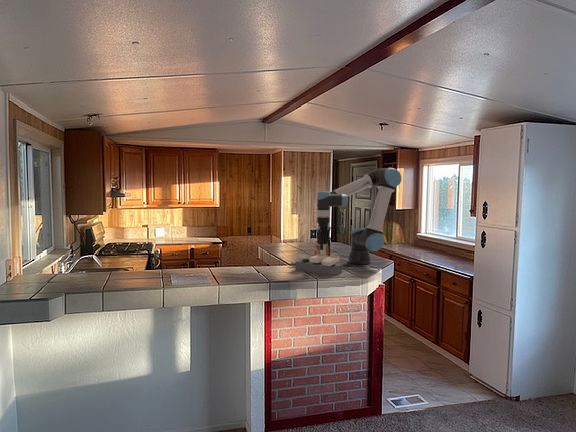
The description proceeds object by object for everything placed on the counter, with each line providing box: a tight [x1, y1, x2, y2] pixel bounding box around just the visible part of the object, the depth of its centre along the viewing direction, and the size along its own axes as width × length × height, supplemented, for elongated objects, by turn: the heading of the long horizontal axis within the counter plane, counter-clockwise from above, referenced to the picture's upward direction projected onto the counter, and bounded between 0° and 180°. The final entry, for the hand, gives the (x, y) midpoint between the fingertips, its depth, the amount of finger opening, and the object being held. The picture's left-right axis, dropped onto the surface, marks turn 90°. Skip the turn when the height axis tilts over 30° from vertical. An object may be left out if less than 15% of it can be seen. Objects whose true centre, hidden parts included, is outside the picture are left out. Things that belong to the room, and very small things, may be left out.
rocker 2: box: [309, 254, 327, 263], centre depth 270 cm, size 10×6×3 cm, turn 139°
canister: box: [314, 235, 332, 257], centre depth 288 cm, size 9×11×20 cm
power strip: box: [290, 258, 343, 277], centre depth 273 cm, size 11×35×6 cm, turn 49°
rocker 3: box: [321, 254, 341, 266], centre depth 264 cm, size 10×6×3 cm, turn 139°
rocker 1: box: [297, 252, 315, 260], centre depth 276 cm, size 10×6×3 cm, turn 140°
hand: (322, 254), depth 273 cm, fingers closed, pressing on rocker 2
